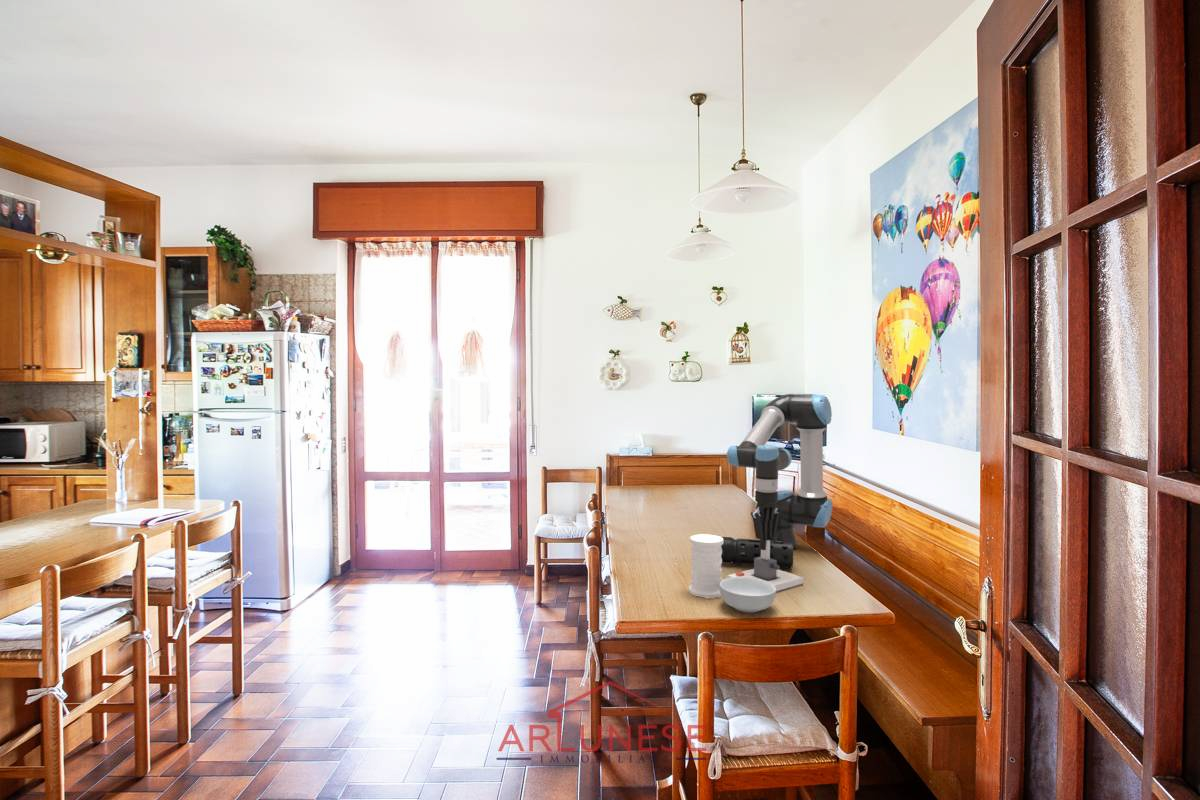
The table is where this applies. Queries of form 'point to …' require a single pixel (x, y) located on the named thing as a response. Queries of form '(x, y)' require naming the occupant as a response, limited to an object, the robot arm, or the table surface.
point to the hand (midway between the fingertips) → (765, 558)
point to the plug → (765, 568)
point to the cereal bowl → (747, 593)
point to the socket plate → (781, 581)
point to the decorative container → (706, 565)
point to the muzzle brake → (755, 551)
